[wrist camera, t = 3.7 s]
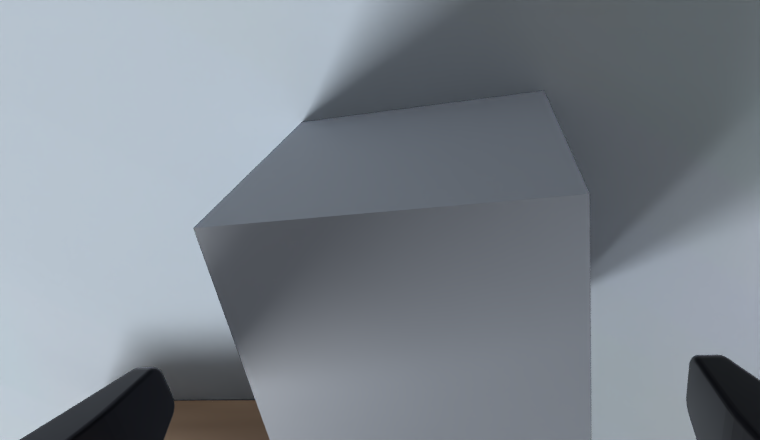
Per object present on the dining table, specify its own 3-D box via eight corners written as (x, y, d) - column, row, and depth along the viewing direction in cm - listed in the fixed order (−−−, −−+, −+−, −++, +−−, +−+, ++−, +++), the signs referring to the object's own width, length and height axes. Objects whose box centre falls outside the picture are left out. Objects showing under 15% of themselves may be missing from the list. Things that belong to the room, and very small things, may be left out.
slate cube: (552, 301, 15) (591, 492, 10) (348, 310, 16) (285, 483, 11) (543, 89, 12) (589, 194, 7) (302, 121, 14) (193, 228, 9)
